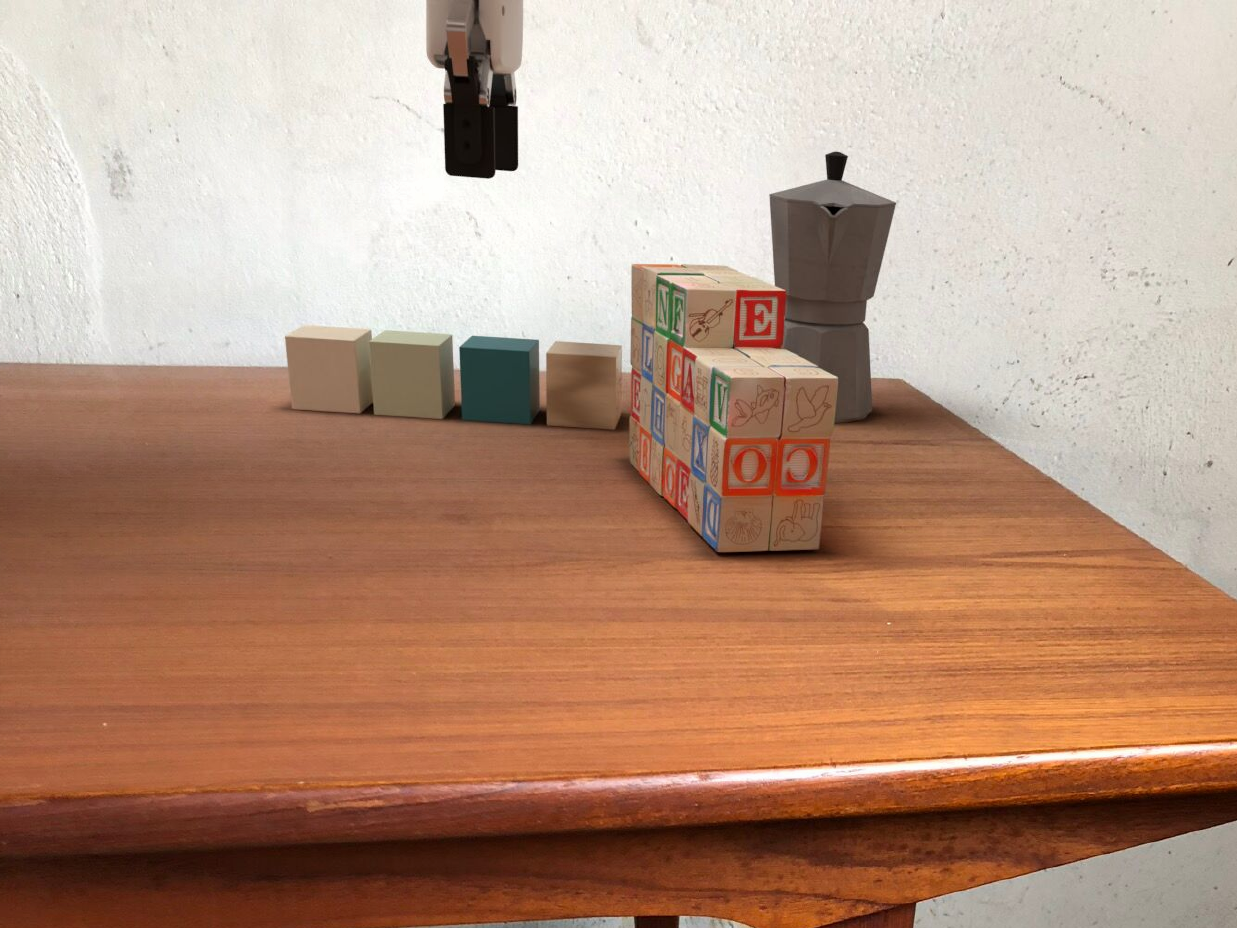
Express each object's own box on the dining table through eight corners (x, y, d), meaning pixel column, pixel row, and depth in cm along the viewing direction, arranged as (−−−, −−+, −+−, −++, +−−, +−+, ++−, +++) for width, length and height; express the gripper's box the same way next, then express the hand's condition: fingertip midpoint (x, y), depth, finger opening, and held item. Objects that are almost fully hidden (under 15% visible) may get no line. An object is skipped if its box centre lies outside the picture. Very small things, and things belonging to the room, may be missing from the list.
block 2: (374, 415, 101) (368, 341, 99) (389, 401, 105) (384, 330, 103) (442, 419, 101) (439, 345, 99) (455, 405, 105) (452, 334, 103)
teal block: (462, 420, 101) (459, 346, 99) (474, 406, 105) (471, 335, 103) (530, 424, 101) (529, 351, 99) (539, 410, 105) (539, 339, 103)
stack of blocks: (823, 553, 78) (846, 314, 71) (716, 556, 76) (729, 312, 70) (715, 460, 95) (726, 261, 88) (626, 461, 93) (630, 258, 87)
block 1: (291, 409, 101) (284, 335, 99) (310, 396, 105) (303, 324, 103) (360, 414, 101) (354, 340, 99) (376, 400, 105) (371, 329, 103)
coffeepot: (876, 432, 105) (906, 160, 96) (752, 424, 105) (770, 151, 96) (868, 393, 118) (894, 150, 109) (758, 386, 118) (774, 142, 109)
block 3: (546, 425, 101) (546, 352, 99) (555, 411, 105) (554, 340, 103) (615, 430, 101) (616, 356, 99) (621, 416, 105) (622, 345, 103)
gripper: (445, -128, 93) (453, 163, 102) (385, -169, 79) (400, 175, 88) (556, -119, 93) (554, 171, 102) (517, -159, 79) (519, 184, 88)
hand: (483, 173), depth 95 cm, fingers open, 9 cm apart
